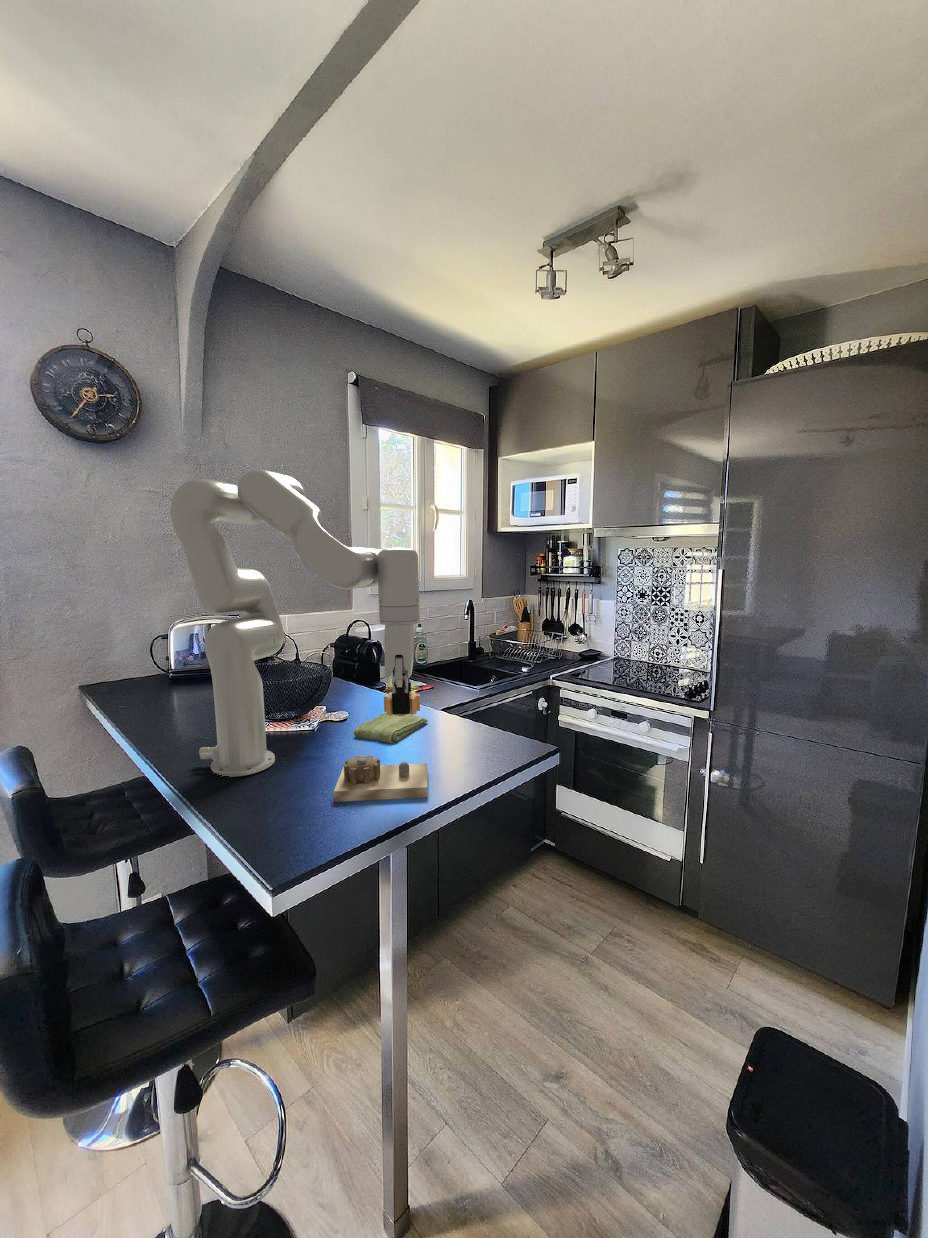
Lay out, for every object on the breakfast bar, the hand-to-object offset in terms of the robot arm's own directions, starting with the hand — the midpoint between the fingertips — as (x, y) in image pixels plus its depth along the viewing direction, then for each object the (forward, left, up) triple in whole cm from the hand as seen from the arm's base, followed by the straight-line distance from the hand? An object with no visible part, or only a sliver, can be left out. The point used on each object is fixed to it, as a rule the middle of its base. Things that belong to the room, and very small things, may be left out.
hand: (402, 707), depth 96 cm
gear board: (-4, 0, -16) cm, 16 cm away
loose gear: (0, 0, -1) cm, 1 cm away
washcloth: (-5, +33, -16) cm, 37 cm away
